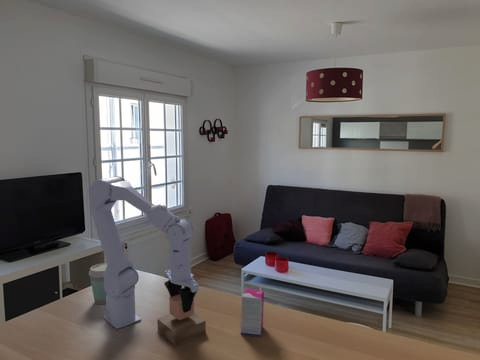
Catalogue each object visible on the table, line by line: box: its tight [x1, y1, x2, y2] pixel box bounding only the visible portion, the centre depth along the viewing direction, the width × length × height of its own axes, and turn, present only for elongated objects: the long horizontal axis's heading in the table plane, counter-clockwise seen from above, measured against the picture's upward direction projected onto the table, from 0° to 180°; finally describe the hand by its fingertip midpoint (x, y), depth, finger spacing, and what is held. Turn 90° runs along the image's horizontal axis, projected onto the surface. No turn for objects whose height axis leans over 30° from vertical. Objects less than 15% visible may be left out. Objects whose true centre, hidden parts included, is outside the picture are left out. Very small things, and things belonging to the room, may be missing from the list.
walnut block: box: [156, 312, 207, 346], centre depth 110 cm, size 10×10×4 cm
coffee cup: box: [88, 262, 107, 306], centre depth 129 cm, size 8×9×12 cm
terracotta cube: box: [168, 294, 195, 320], centre depth 110 cm, size 5×5×5 cm
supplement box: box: [240, 288, 265, 337], centre depth 110 cm, size 6×6×12 cm
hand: (181, 307), depth 110 cm, fingers closed on terracotta cube, 5 cm apart
